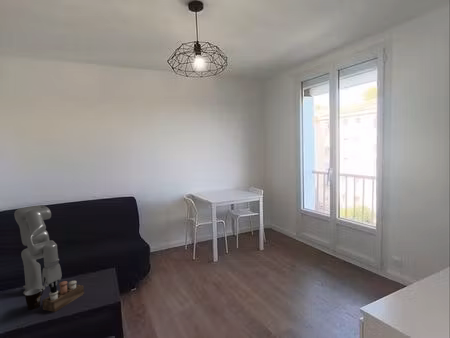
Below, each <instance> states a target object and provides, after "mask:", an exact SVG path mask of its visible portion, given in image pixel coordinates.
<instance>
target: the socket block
mask: <svg viewBox="0 0 450 338" xmlns="http://www.w3.org/2000/svg"><path fill="white" fill-rule="evenodd" d="M84 290H85V289H84V285H82V284H81V285H80V284H76V288H75V289H73V290H71V289H70V288H69V285H67V293H66V294H64V295H61V294H60V290H58V298H57V299H56V300H54V301H53V300H50V295H48V297H46V298H44V299H42V300H41V301H42V309H43V310H44V311H49V312H53V313H56V312H57V311H59V310H61V309H62V308H64V307H66V306H68V305H69V304H71V303H72V302H73V301H75V300H77V299H78V298H81V297H82V296H84V295H85V291H84ZM83 294H84V295H83ZM43 310H42V311H43Z"/></svg>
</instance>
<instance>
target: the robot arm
mask: <svg viewBox="0 0 450 338" xmlns="http://www.w3.org/2000/svg"><path fill="white" fill-rule="evenodd" d="M51 218H52V212H51V209H50V208H49V207H47V206H45V205H44V204H38V205H33V206H24V207H21V208H17V209H16V210H15V211H14V220H15V221H16V223H17V225H18V227H19V232H20V238H21V243H22V245H23V246H25V247H27V248H24V249H23V250H22V251H21V254H20V255H21V256H20V257H21V259H22V265H23V271H24V281H25V282H24V284H25V285H23V286H22V287H23V288H24V291H23V295H24V296H25V293H26V292H27V291H29V290H32V289H37V288H39V289H43V291H45V290H46V287H49V291H50V292H51V293H55V292H57V286H58V284H59V281H61V280H62V277H63V276H62V274H63V273H62V267H61V265H60V263H59V261H60V258H59V253H58V252H59V251H58V244H57V243H56V242H55V241H54V240H52V239H51V240H50V235H49V232H48V231H47V230H46V229H47V226H46V224H45V221H46V220H50V219H51ZM40 259H43V265H44V267H43V268H41V264H40V263H39V262H38V260H40ZM41 269H42V270H41ZM43 284H44V285H43ZM41 293H42V290H41Z"/></svg>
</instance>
